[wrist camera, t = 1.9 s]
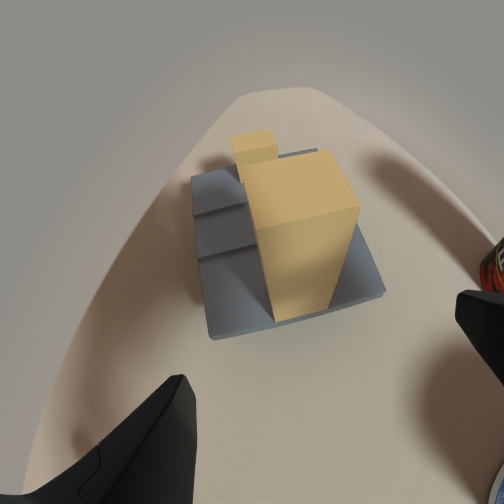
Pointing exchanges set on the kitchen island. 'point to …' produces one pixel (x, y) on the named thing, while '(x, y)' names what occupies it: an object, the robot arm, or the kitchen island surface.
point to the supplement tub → (498, 489)
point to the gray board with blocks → (278, 239)
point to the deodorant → (493, 270)
